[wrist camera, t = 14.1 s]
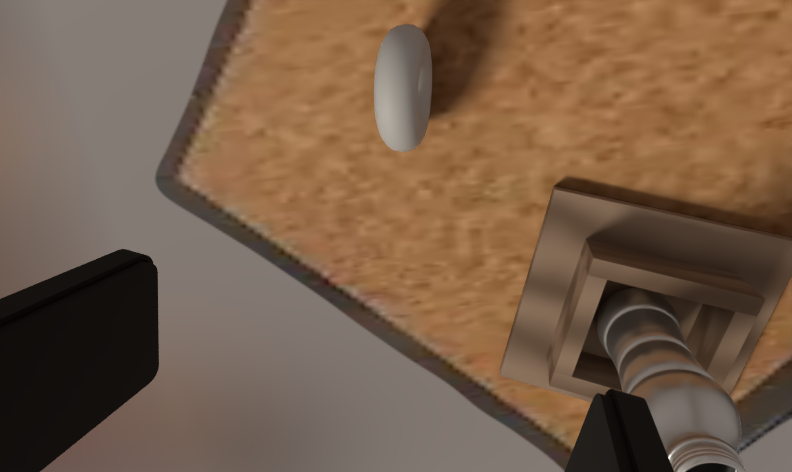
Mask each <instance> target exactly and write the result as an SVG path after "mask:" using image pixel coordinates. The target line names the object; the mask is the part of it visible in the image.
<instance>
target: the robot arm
mask: <svg viewBox="0 0 792 472" xmlns="http://www.w3.org/2000/svg"><path fill="white" fill-rule="evenodd" d="M158 349H159V346H158V272H157V268H156V266H155V265H154V264H153V261H152V259H151V258H150V257H149V256H147V255H144V254H140V253H136V252H133V251H130V250H126V249H121V250H117V251H115V252H113V253H110V254H108V255H105V256H103V257H101V258H98V259H96V260H93V261H91V262H88V263H86V264H84V265H81V266H79V267H76V268H74V269H71V270H69V271H67V272H64V273H62V274H59V275H57V276H55V277H52V278H50V279H48V280H45V281H42V282H40V283H38V284H35V285H33V286H31V287H28V288H26V289H23V290H21V291H18V292H16V293H14V294H11V295H9V296H6V297H4V298H1V299H0V472H40V471H41V470H42V469H44V468H45V467H46V466H47V465H49V464H50V463H51V462H52V461H54V460H55V459H56V458H57V457H59V456H60V455H61V454H62V453H63V452H65V451H66V450H67V449H68V448H70V447H71V446H72V445H73V444H75V443H76V442H77V441H78V440H80V439H81V438H82V437H83V436H85V435H86V434H87V433H88V432H89V431H91V430H92V429H93V428H95V427H96V426H97V425H98V424H99V423H101V422H102V421H103V420H104V419H106V418H107V417H108V416H109V415H111V414H112V413H113V412H114V411H116V410H117V409H118V408H119V407H120V406H122V405H123V404H124V403H125V402H127V401H128V400H129V399H130V398H132V397H133V396H134V395H135V394H137V393H138V392H139V391H140V390H141V389H143V388H144V387H145V386H147V385H148V384H149V383H150V382H151V381H152V380H153V379H154V377H155V376H156V373H157V371H158V367H159V351H158ZM565 472H674V470H673V468H672V465H671V463H670V460H669V458H668V455H667V453H666V450H665V448H664V445H663V442H662V440H661V437H660V435H659V432H658V430H657V427H656V425H655V422H654V420H653V417H652V415H651V412H650V409H649V407H648V404H647V402H646V400H645V399H644V398H642V397H639V396H636V395H632V394H629V393H625V392H622V391H618V390H615V389H609V390H608V391H607V392H606V394H605V395H603V394H600V393H597V394H596V395H595V396H594V398H593V400H592V403H591V405H590V408H589V410H588V413H587V416H586V418H585V421H584V423H583V426H582V428H581V431H580V433H579V436H578V439H577V441H576V444H575V446H574V449H573V451H572V454H571V457H570V459H569V462H568V464H567V467H566V469H565Z"/></svg>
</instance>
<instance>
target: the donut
mask: <svg viewBox="0 0 792 472" xmlns="http://www.w3.org/2000/svg"><path fill="white" fill-rule="evenodd" d="M431 96H432V59H431V50H430V46H429V42H428V40H427V38H426V36H425V34H424V33H423V32H422V31H421V29H420V28H418V27H416V26H415V25H411V24H404V25H399V26H396V27H394V28H393V29H391V30H390V31H389V32H388V33H387V35H386V36H385V38H384V40H383V42H382V44H381V47H380V50H379V54H378V57H377V62H376V69H375V80H374V108H375V116H376V122H377V126H378V130H379V133H380V136H381V137H382V139H383V141H384V142H385V143H386V145H387V146H388V147H389V148H391V149H393V150H396V151H401V152H406V151H411V150H413V149H415V148H416V147H417V146H418V145H419V144H420V143H421V141H422V139H423V138H424V136H425V133H426V130H427V126H428V121H429V115H430V107H431Z"/></svg>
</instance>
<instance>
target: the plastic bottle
mask: <svg viewBox="0 0 792 472" xmlns="http://www.w3.org/2000/svg"><path fill="white" fill-rule="evenodd" d="M597 333H598V337H599V340H600V342H601V344H602V345H603V347H604V349H605V350H606V352H607V353H608V355H609V356H610V357H611V359H612V361H613V363H614V365H615V367H616V369H617V371H618V375H619V378H620V383H621V387H622V392H625V393H629V394H632V395H636V396H639V397H642V398H644V399H645V400H646V402H647V404H648V407H649V409H650V412H651V415H652V417H653V420H654V422H655V425H656V427H657V430H658V432H659V435H660V437H661V440H662V442H663V445H664V448H665V450H666V453H667V455H668V458H669V460H670V463H671V465H672V468H673V470H674V472H746V471H745V469H744V466H743V463H742V460H741V459H740V457H739V455H738V454H737V452H736V451H737V448H738V446H739V443H740V438H741V424H740V417H739V413H738V410H737V407H736V405H735V404H734V402H733V400H732V399H731V398H730V396H729V395H728V394H727V392H726V391H725V390H724V389H723V388H722V387H721V386H720V385H719V384H718V383H717V382H716V381H715V380H714V379H713V378H712V377H711V376H710V375H709V374H708V373H707V372H706V371H705V370H704V369H703V367H702V366H701V365H700V363H699V362H698V361H697V359H696V358H695V357H694V355H693V354H692V353H691V351H690V350H689V348H688V346H687V344H686V341H685V339H684V337H683V335H682V329H681V325H680V322H679V319H678V316H677V314H676V312H675V310H674V309H673V307H672V306H671V305H670V304H669V303H668V302H667V301H666V300H665V299H663V298H662V297H661V296H659V295H658V294H656V293H655V292H652V291H650V290H646V289H642V288H629V289H624V290H621V291H618V292H616V293H614V294H613V295H611V296H610V297H609V298H607V299H606V301H605V302H604V303H603V304H602V306H601V308H600V310H599V313H598V317H597Z"/></svg>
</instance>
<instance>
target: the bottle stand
mask: <svg viewBox="0 0 792 472" xmlns="http://www.w3.org/2000/svg"><path fill="white" fill-rule="evenodd" d="M791 275H792V237H787V236H782V235H778V234H773V233H769V232H764V231H759V230H755V229H750V228H745V227H741V226H736V225H732V224H727V223H722V222H718V221H713V220H709V219H704V218H699V217H695V216H690V215H685V214H681V213H676V212H672V211H667V210H662V209H658V208H653V207H649V206H644V205H639V204H635V203H630V202H625V201H621V200H616V199H612V198H607V197H602V196H598V195H593V194H589V193H584V192H579V191H575V190H570V189H566V188H561V187H556V186H554V187H553V190H552V194H551V197H550V201H549V204H548V207H547V211H546V214H545V218H544V221H543V224H542V228H541V231H540V234H539V238H538V241H537V245H536V248H535V251H534V255H533V258H532V261H531V265H530V268H529V272H528V275H527V278H526V282H525V285H524V288H523V292H522V295H521V299H520V302H519V305H518V309H517V312H516V316H515V319H514V322H513V326H512V329H511V332H510V336H509V339H508V343H507V346H506V349H505V353H504V356H503V359H502V363H501V366H500V376H503V377H507V378H510V379H513V380H517V381H520V382H524V383H527V384H530V385H534V386H537V387H541V388H544V389H547V390H551V391H554V392H558V393H561V394H564V395H568V396H571V397H575V398H578V399H581V400H585V401H588V402H592V400H593V398H594V396H595V395H596V394H597V393H600V394H603V395H605V394H606V392H607V391H608V390H609V389H615V390H618V391H622V387H621V383H620V378H619V375H618V371H617V369H616V367H615V365H614V363H613V361H612V359H611V357H610V356H609V355H608V353H607V352H606V350H605V349H604V347H603V345H602V344H601V342H600V340H599V337H598V333H597V317H598V313H599V310H600V308H601V306H602V304H603V303H604V302H605V301H606V299H607V298H609V297H610V296H611V295H613V294H614V293H616V292H618V291H621V290H624V289H629V288H642V289H646V290H650V291H652V292H655V293H656V294H658V295H659V296H661V297H662V298H663V299H665V300H666V301H667V302H668V303H669V304H670V305H671V306H672V307H673V309H674V310H675V312H676V314H677V316H678V319H679V322H680V325H681V329H682V335H683V337H684V339H685V341H686V344H687V346H688V348H689V350H690V351H691V353H692V354H693V355H694V357H695V358H696V359H697V361H698V362H699V363H700V365H701V366H702V367H703V369H704V370H705V371H706V372H707V373H708V374H709V375H710V376H711V377H712V378H713V379H714V380H715V381H716V382H717V383H718V384H719V385H720V386H721V387H722V388H723V389H724V390H725V391H726V392H727V394H728V395H730V393H731V391H732V390H733V388H734V386H735V384H736V382H737V380H738V378H739V376H740V374H741V372H742V370H743V368H744V366H745V364H746V362H747V360H748V359H749V357H750V355H751V353H752V351H753V349H754V347H755V345H756V343H757V341H758V339H759V337H760V335H761V333H762V331H763V329H764V328H765V326H766V324H767V322H768V320H769V318H770V316H771V314H772V312H773V310H774V308H775V306H776V304H777V302H778V300H779V298H780V297H781V295H782V293H783V291H784V289H785V287H786V285H787V283H788V281H789V279H790V277H791Z"/></svg>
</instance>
